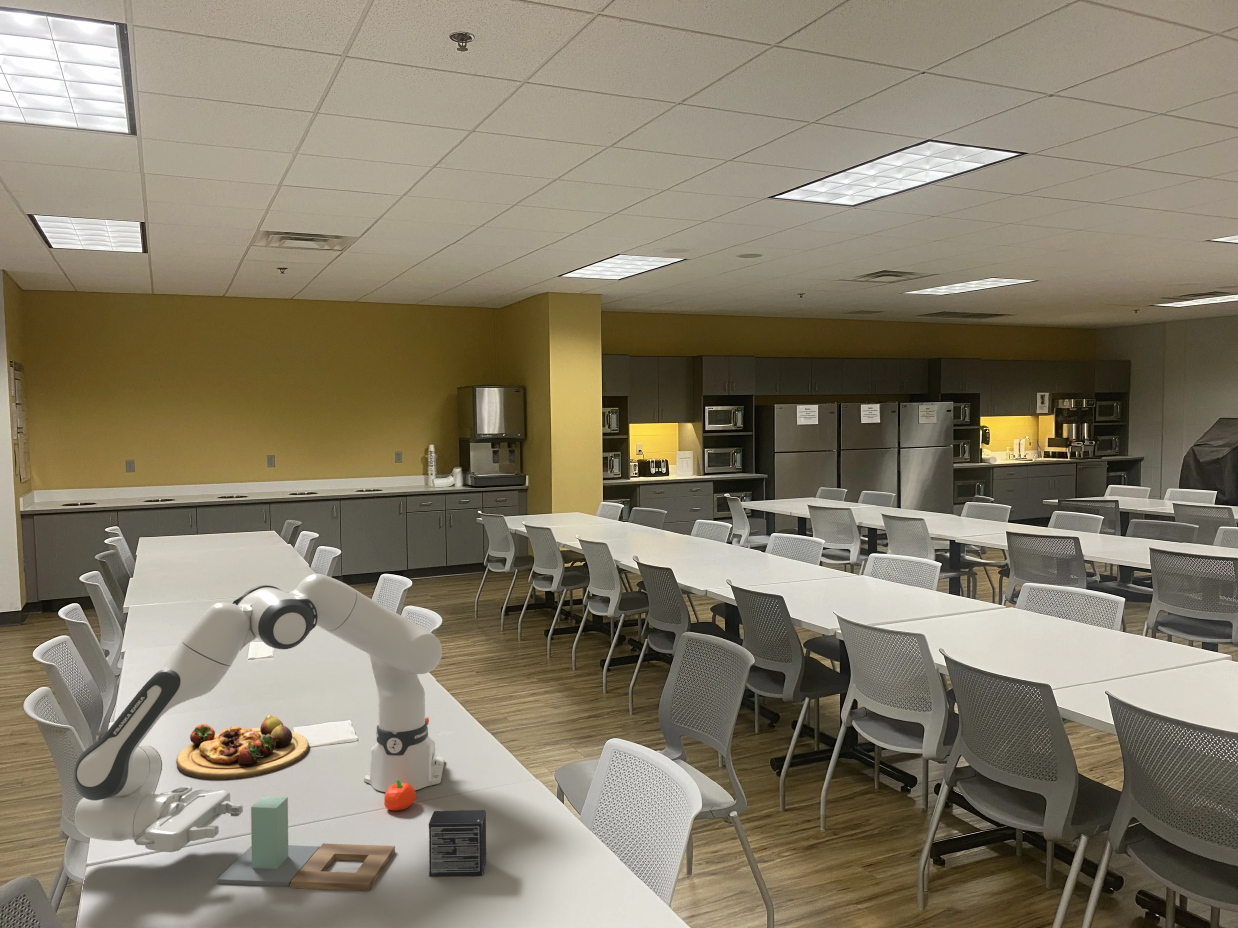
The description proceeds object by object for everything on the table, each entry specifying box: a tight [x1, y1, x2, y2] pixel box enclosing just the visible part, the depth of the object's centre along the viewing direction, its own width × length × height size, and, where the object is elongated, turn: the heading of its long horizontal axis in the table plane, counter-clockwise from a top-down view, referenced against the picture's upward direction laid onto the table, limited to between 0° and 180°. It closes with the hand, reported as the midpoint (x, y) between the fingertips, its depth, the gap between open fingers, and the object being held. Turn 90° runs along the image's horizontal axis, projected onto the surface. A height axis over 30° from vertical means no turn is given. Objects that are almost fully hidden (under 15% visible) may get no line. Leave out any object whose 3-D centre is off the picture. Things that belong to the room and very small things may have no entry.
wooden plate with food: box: [175, 715, 310, 781], centre depth 228 cm, size 32×32×8 cm
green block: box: [250, 795, 289, 869], centre depth 171 cm, size 5×5×12 cm
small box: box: [428, 809, 487, 877], centre depth 170 cm, size 11×6×10 cm, turn 92°
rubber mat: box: [216, 844, 321, 887], centre depth 171 cm, size 14×14×1 cm
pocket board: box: [290, 842, 396, 892], centre depth 170 cm, size 15×15×1 cm
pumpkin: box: [383, 779, 417, 812], centre depth 197 cm, size 7×8×6 cm
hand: (229, 820), depth 171 cm, fingers open, 8 cm apart
